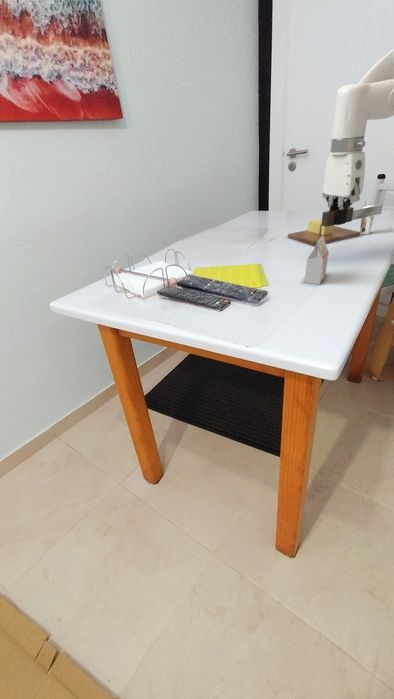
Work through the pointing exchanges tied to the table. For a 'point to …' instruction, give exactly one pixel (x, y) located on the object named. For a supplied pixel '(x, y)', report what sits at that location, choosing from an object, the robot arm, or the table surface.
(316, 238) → the board
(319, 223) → the butter block
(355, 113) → the robot arm
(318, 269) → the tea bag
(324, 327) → the table surface
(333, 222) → the knife
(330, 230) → the butter slice
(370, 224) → the milkshake
